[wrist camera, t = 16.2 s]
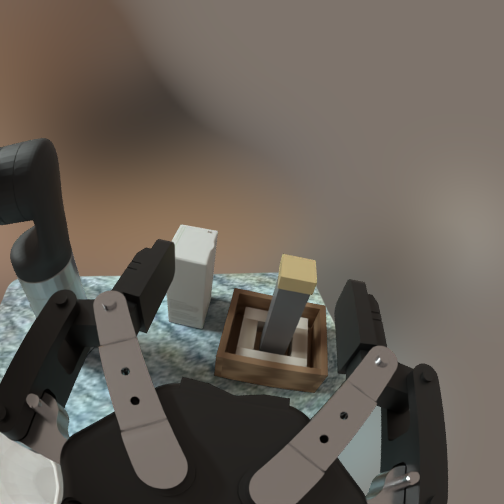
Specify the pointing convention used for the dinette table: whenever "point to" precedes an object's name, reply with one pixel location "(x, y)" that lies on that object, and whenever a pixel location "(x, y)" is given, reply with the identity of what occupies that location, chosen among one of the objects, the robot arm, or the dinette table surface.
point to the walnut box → (268, 364)
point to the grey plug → (288, 303)
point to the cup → (28, 476)
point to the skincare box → (192, 276)
